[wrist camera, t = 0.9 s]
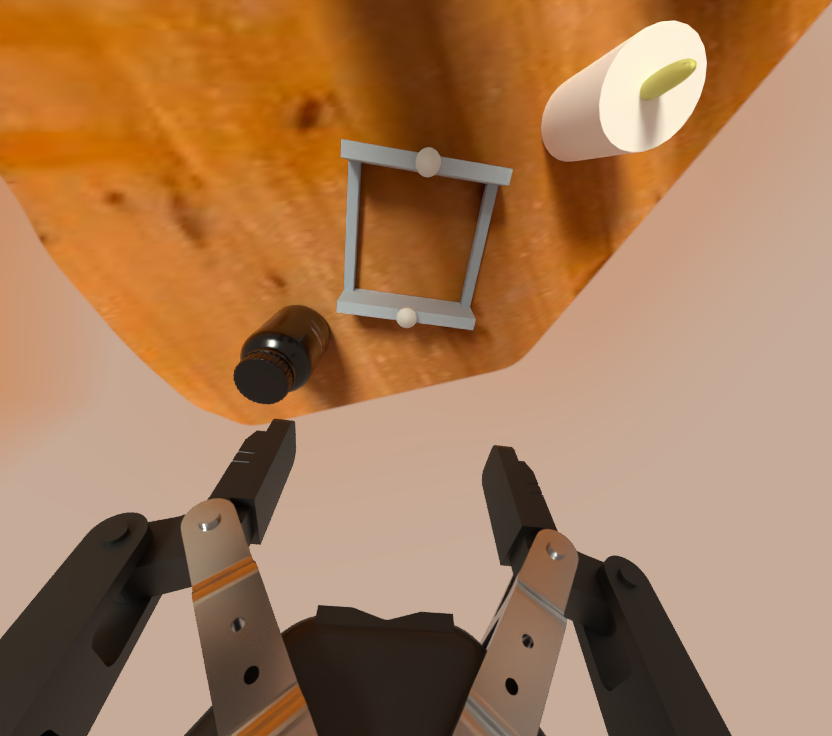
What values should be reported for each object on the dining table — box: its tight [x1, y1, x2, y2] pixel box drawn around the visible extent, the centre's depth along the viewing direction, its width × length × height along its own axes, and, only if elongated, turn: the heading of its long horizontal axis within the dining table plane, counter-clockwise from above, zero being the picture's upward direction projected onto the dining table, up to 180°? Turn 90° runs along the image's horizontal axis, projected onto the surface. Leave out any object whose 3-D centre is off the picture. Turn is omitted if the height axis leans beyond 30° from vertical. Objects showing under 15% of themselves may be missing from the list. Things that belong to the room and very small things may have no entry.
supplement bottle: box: [233, 305, 329, 404], centre depth 34 cm, size 7×7×12 cm
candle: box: [541, 21, 707, 162], centre depth 23 cm, size 6×6×15 cm
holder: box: [337, 139, 513, 330], centre depth 31 cm, size 15×14×6 cm
